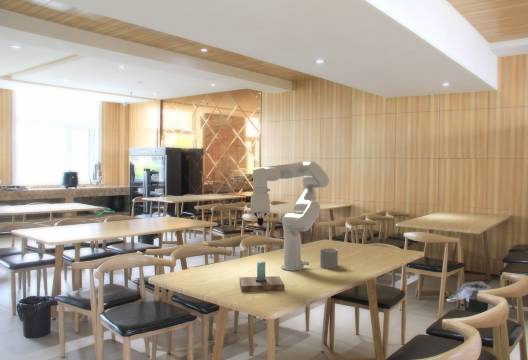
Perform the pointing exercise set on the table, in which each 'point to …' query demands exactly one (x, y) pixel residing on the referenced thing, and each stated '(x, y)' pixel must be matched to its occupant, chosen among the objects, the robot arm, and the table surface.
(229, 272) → the table surface
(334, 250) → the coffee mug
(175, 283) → the table surface
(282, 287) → the walnut board
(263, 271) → the teal peg
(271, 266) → the table surface
